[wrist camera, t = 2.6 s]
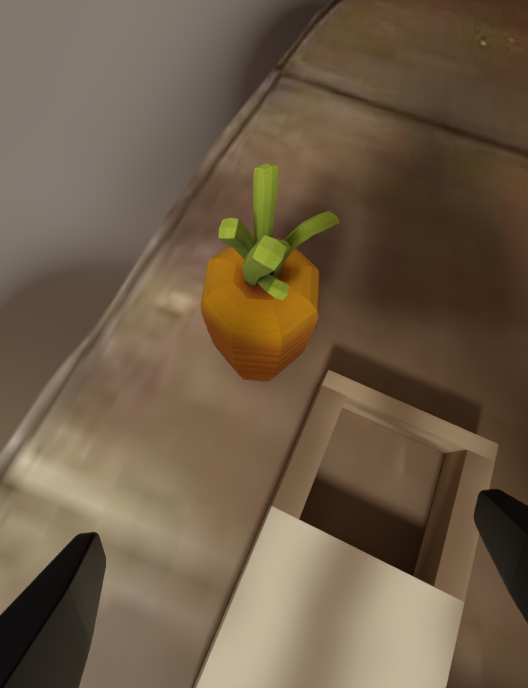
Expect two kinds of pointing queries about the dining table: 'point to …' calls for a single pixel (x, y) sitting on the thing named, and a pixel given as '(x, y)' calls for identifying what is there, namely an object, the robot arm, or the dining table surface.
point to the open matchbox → (352, 571)
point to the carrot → (262, 287)
